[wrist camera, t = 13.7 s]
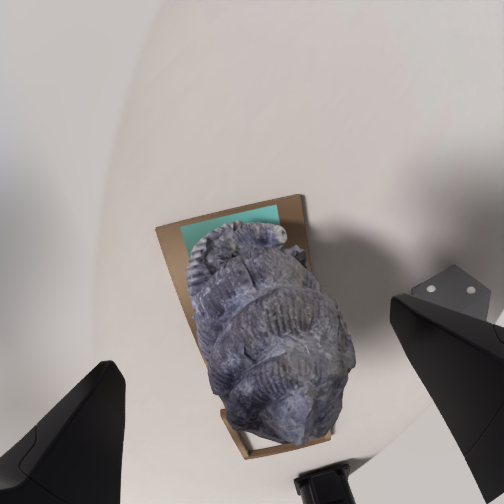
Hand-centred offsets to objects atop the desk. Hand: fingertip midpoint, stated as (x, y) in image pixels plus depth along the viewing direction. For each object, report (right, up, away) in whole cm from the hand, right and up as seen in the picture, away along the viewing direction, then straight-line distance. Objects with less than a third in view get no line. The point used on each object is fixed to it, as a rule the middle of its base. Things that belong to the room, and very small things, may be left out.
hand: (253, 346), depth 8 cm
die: (+13, -1, +9) cm, 16 cm away
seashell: (0, +2, +6) cm, 7 cm away
